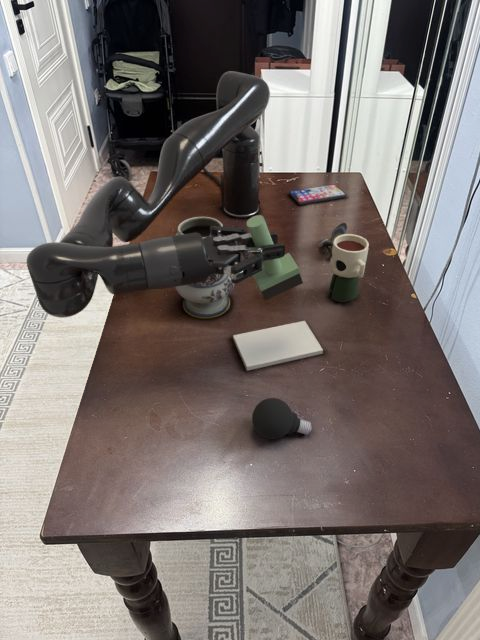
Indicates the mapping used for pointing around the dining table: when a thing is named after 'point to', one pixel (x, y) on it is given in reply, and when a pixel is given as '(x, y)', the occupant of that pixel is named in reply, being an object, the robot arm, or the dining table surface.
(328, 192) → the smartphone
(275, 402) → the light bulb
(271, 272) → the scrub brush
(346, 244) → the character mug
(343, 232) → the eagle figurine
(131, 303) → the dining table surface
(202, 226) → the apothecary jar
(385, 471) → the dining table surface
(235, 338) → the white tile
